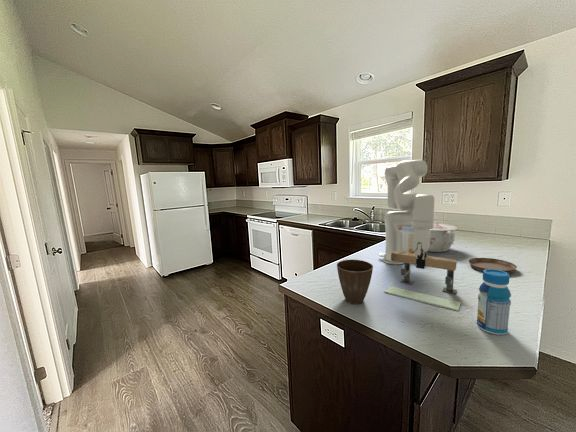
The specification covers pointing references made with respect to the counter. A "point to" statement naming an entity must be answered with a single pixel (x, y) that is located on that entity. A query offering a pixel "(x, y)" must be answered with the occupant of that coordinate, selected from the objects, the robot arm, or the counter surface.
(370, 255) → the counter surface
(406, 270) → the bracket
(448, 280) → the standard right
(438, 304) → the board
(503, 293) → the beverage bottle
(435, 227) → the chamber pot
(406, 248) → the cracker box
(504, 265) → the plant saucer
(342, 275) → the plant pot
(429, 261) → the rail
